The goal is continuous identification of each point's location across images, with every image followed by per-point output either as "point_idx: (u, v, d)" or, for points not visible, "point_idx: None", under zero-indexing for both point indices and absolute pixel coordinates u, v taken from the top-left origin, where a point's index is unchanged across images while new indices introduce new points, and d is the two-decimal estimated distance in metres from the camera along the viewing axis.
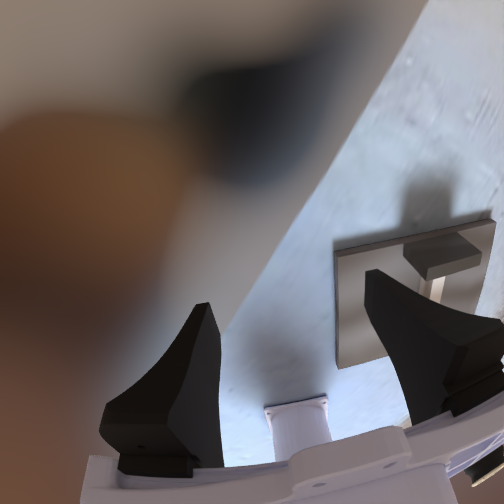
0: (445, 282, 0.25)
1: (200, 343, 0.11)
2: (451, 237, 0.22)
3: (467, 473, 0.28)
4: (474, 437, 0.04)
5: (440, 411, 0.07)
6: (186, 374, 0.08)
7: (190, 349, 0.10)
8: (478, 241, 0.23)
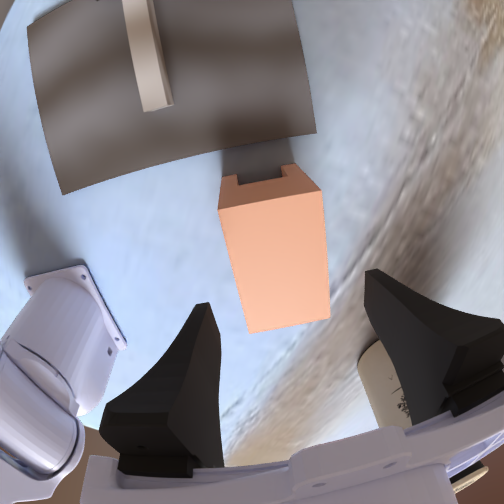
0: (190, 25, 0.14)
1: (200, 343, 0.11)
2: None
3: None
4: (474, 437, 0.04)
5: (440, 411, 0.07)
6: (186, 374, 0.08)
7: (190, 349, 0.10)
8: None
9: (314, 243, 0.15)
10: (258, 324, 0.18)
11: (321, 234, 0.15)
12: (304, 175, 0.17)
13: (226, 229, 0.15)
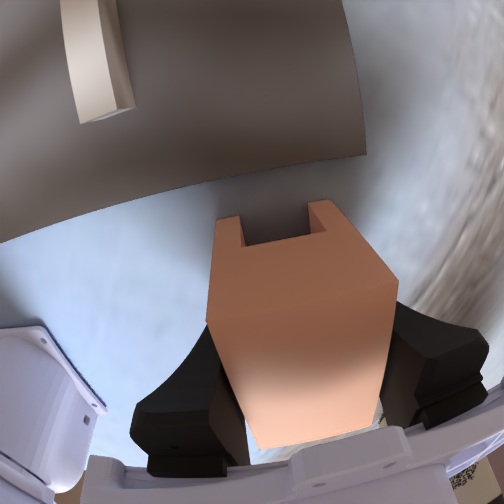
0: None
1: None
2: None
3: None
4: (474, 437, 0.04)
5: (414, 422, 0.07)
6: (219, 370, 0.08)
7: None
8: None
9: (370, 356, 0.08)
10: (272, 442, 0.11)
11: (383, 343, 0.08)
12: (354, 231, 0.10)
13: (223, 348, 0.08)
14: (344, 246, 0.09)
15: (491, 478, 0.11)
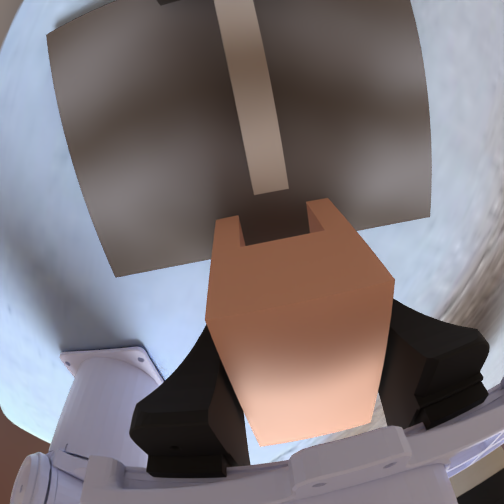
0: (305, 65, 0.11)
1: None
2: None
3: None
4: (474, 437, 0.04)
5: (414, 422, 0.07)
6: (218, 370, 0.08)
7: None
8: None
9: (367, 353, 0.09)
10: (273, 439, 0.11)
11: (381, 341, 0.08)
12: (351, 230, 0.10)
13: (223, 347, 0.08)
14: (341, 245, 0.09)
15: (501, 451, 0.15)
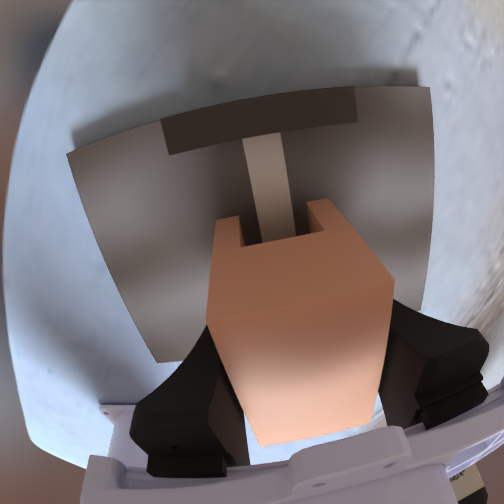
0: None
1: None
2: None
3: None
4: (474, 437, 0.04)
5: (414, 422, 0.07)
6: (218, 370, 0.08)
7: None
8: (391, 120, 0.12)
9: (367, 354, 0.09)
10: (273, 439, 0.11)
11: (381, 342, 0.08)
12: (352, 231, 0.10)
13: (223, 347, 0.08)
14: (342, 246, 0.09)
15: (476, 475, 0.18)
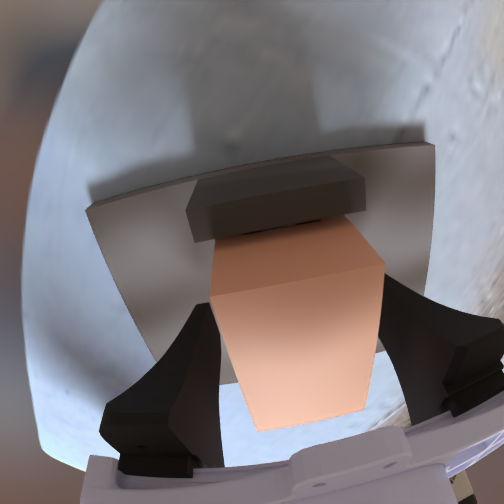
0: None
1: (200, 343, 0.11)
2: (308, 161, 0.12)
3: None
4: (474, 437, 0.04)
5: (440, 411, 0.07)
6: (186, 374, 0.08)
7: (190, 349, 0.10)
8: (396, 181, 0.14)
9: (360, 335, 0.09)
10: (269, 423, 0.12)
11: (373, 324, 0.09)
12: (346, 221, 0.11)
13: (225, 324, 0.09)
14: (336, 233, 0.10)
15: (466, 483, 0.20)
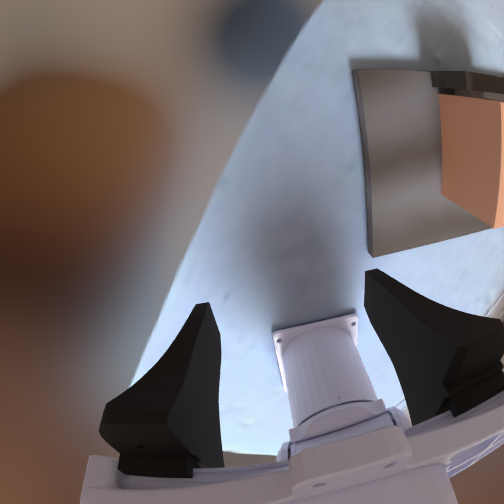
0: None
1: (200, 343, 0.11)
2: None
3: None
4: (474, 437, 0.04)
5: (440, 411, 0.07)
6: (186, 374, 0.08)
7: (190, 349, 0.10)
8: None
9: None
10: (501, 218, 0.14)
11: None
12: None
13: (503, 120, 0.11)
14: None
15: None
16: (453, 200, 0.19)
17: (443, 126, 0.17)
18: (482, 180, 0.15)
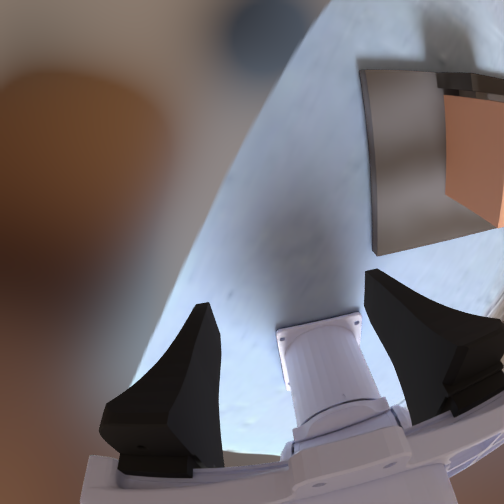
0: None
1: (200, 343, 0.11)
2: None
3: None
4: (474, 437, 0.04)
5: (440, 411, 0.07)
6: (186, 374, 0.08)
7: (190, 349, 0.10)
8: None
9: None
10: None
11: None
12: None
13: None
14: None
15: None
16: (457, 200, 0.19)
17: (448, 127, 0.17)
18: (486, 180, 0.15)
